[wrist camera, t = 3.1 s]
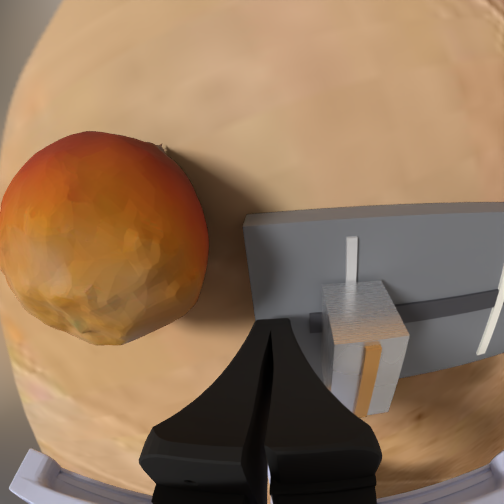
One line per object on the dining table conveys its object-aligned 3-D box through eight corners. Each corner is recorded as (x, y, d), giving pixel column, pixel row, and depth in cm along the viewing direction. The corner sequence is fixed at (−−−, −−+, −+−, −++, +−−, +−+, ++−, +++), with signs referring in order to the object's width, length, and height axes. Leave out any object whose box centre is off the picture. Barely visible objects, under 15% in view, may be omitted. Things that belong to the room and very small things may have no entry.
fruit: (189, 57, 9) (109, 236, 4) (233, 205, 15) (227, 368, 11) (27, 118, 10) (-68, 268, 5) (100, 225, 16) (63, 358, 12)
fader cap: (371, 353, 13) (389, 415, 10) (321, 359, 13) (328, 424, 10) (380, 279, 11) (411, 339, 8) (321, 284, 12) (335, 349, 8)
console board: (504, 335, 14) (520, 356, 12) (266, 371, 16) (264, 402, 14) (538, 202, 11) (564, 216, 9) (246, 214, 13) (239, 234, 11)
